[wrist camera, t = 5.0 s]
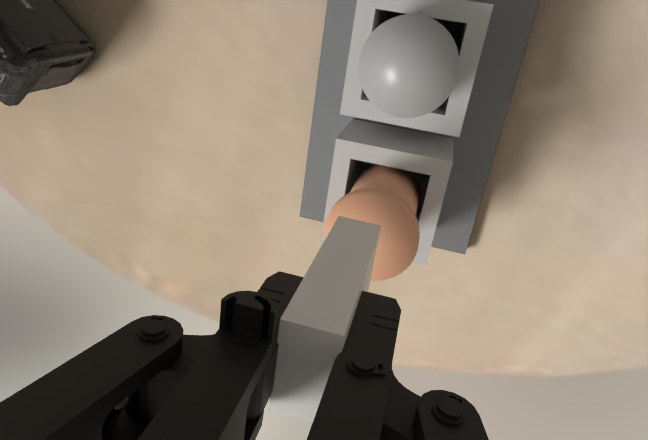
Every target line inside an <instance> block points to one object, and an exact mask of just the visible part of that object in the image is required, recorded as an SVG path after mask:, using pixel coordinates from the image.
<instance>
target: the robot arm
mask: <svg viewBox="0 0 648 440" xmlns="http://www.w3.org/2000/svg"><path fill="white" fill-rule="evenodd" d="M380 230H381V225H377V224H373V223H368V222H364V221H360V220H355V219H351V218H346V217H342V216H338V218H337V220H336V222H335V223H334V225H333V227H332V229H331V230H330V232H329V234H328V236H327V237H326V239H325V241H324V243H323V244H322V246H321V248H320V250H319V252H318V253H317V255H316V257H315V259H314V260H313V262H312V264H311V266H310V267H309V269H308V271H307V273H306V274H305V276H304V277H300V276H296V275H292V274H288V273H284V272H280V271H279V272H277V273H276V274H274V275H272V276H270V277H268V278H267V279H266V280H265V282H264V283H263V284H262V286H261V288H260V289H259V290H258V292H253V291H238V292H234V293H231V294H228V295H227V296H225V297H224V298H223V299H221V313H220V327H219V330H218V331H217V332H216V334H214V335H203V336H199V335H183V328H182V326H181V324H180V323H179V322H177V321H176V320H175V319H173V318H169V317H166V316H158V315H152V316H146V317H141V318H139V319H137V320H135V321H132V322H131V323H129V324H127V325H126V326H124V327H122V328H121V329H119V330H118V331H116V332H114V333H113V334H111V335H109V336H108V337H106V338H105V339H103V340H102V341H100V342H98V343H96V344H95V345H93V346H92V347H90V348H88V349H87V350H85V351H83V352H82V353H80V354H78V355H77V356H75V357H74V358H72V359H70V360H69V361H67V362H66V363H64V364H62V365H61V366H59V367H58V368H56V369H54V370H52V371H51V372H49V373H48V374H46V375H44V376H43V377H41V378H39V379H38V380H36V381H35V382H33V383H32V384H30V385H28V386H26V387H25V388H23V389H22V390H20V391H18V392H17V393H15V394H13V395H12V396H10V397H9V398H7V399H5V400H4V401H2V402H0V440H255V439H256V436H257V434H258V432H259V430H260V428H261V425H262V420H263V413H264V408H265V406H266V404H267V401H268V399H269V397H270V403H269V410H271V411H275V412H278V413H281V414H284V415H288V416H291V417H295V418H298V419H302V420H305V421H309V422H312V423H313V424H312V427H311V430H310V432H309V435H308V438H307V440H489V439H488V437H487V434H486V431H485V429H484V426H483V423H482V421H481V418H480V416H479V414H478V413H477V411H476V409H475V407H474V406H473V405H472V404H471V403H469V402H468V401H467V400H466V399H465V398H463V397H461V396H459V395H457V394H455V393H453V392H448V391H444V390H431V391H429V392H427V393H424V394H423V395H422V396H421V397H420V396H418V395H416V394H415V393H413V392H411V391H410V390H408V389H407V388H405V387H404V386H403V385H402V384H401V383H399V382H398V380H397V379H396V377H395V376H394V374H393V371H392V359H393V354H394V348H395V342H396V337H397V331H398V325H399V319H400V314H401V309H400V307H399V305H398V303H397V301H396V299H394V298H390V297H386V296H382V295H378V294H374V293H370V292H368V288H369V284H370V279H371V274H372V269H373V264H374V259H375V254H376V250H377V245H378V240H379V235H380Z"/></svg>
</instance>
